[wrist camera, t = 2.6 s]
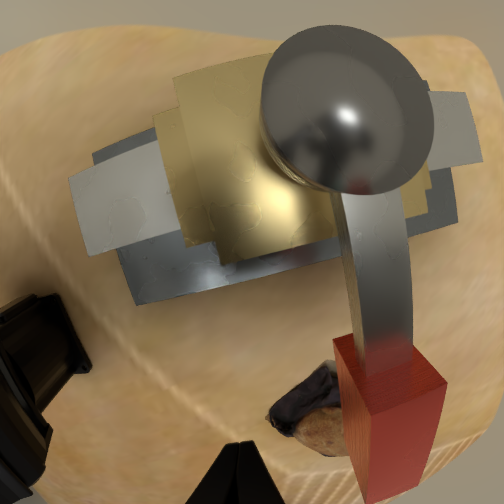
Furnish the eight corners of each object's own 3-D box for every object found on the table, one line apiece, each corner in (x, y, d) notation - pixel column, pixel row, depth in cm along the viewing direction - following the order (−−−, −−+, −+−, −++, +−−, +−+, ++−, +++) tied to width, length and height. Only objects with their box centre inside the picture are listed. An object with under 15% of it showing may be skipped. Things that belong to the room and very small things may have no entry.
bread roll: (409, 396, 20) (427, 422, 16) (341, 453, 21) (350, 481, 17) (331, 343, 18) (347, 375, 14) (253, 416, 19) (254, 451, 16)
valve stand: (444, 219, 16) (552, 248, 7) (144, 296, 17) (65, 386, 8) (414, 86, 14) (511, 39, 5) (104, 155, 15) (-11, 139, 6)
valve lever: (243, 82, 6) (237, 11, 3) (361, 66, 6) (418, 9, 3) (326, 446, 9) (344, 512, 5) (403, 420, 8) (436, 476, 5)
